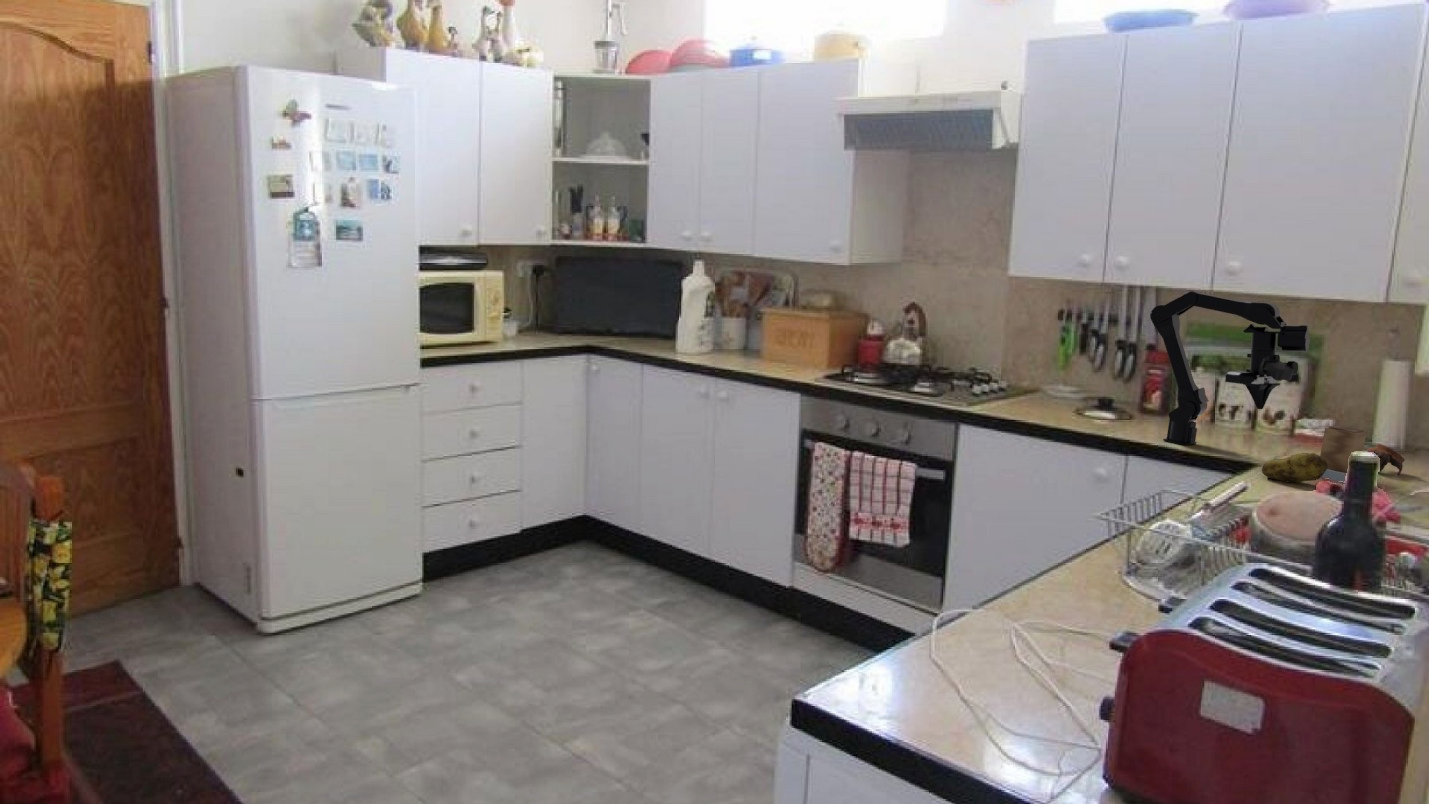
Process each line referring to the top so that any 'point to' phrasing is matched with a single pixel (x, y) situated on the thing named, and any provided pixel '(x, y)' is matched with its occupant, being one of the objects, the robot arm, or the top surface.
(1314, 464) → the potato
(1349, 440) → the crate
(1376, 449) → the brown irregular pronged part
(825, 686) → the top surface
